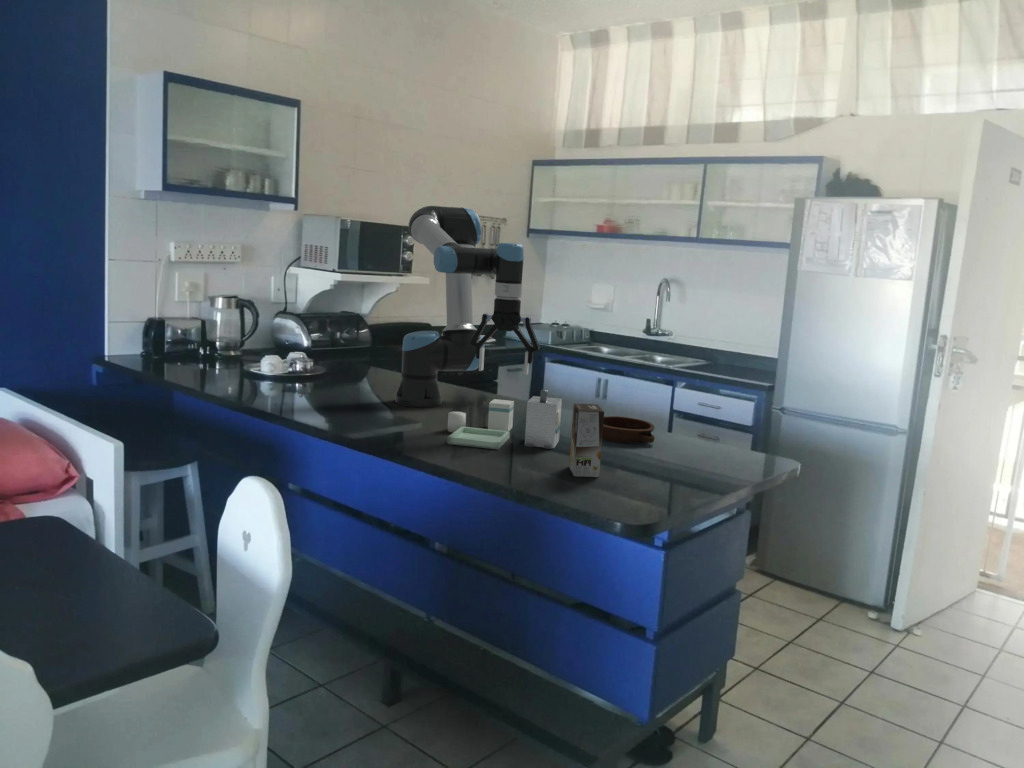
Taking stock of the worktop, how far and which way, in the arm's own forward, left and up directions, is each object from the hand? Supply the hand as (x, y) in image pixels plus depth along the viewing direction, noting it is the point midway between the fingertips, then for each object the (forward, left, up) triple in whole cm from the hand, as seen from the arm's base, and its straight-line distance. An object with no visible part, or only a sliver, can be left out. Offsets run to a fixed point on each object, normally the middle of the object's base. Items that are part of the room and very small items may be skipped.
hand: (503, 372), depth 238 cm
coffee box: (+29, -36, -17) cm, 49 cm away
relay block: (0, 0, -17) cm, 17 cm away
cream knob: (-11, -8, -17) cm, 22 cm away
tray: (-2, -17, -17) cm, 24 cm away
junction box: (+14, -12, -17) cm, 25 cm away
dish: (+35, +4, -17) cm, 39 cm away
